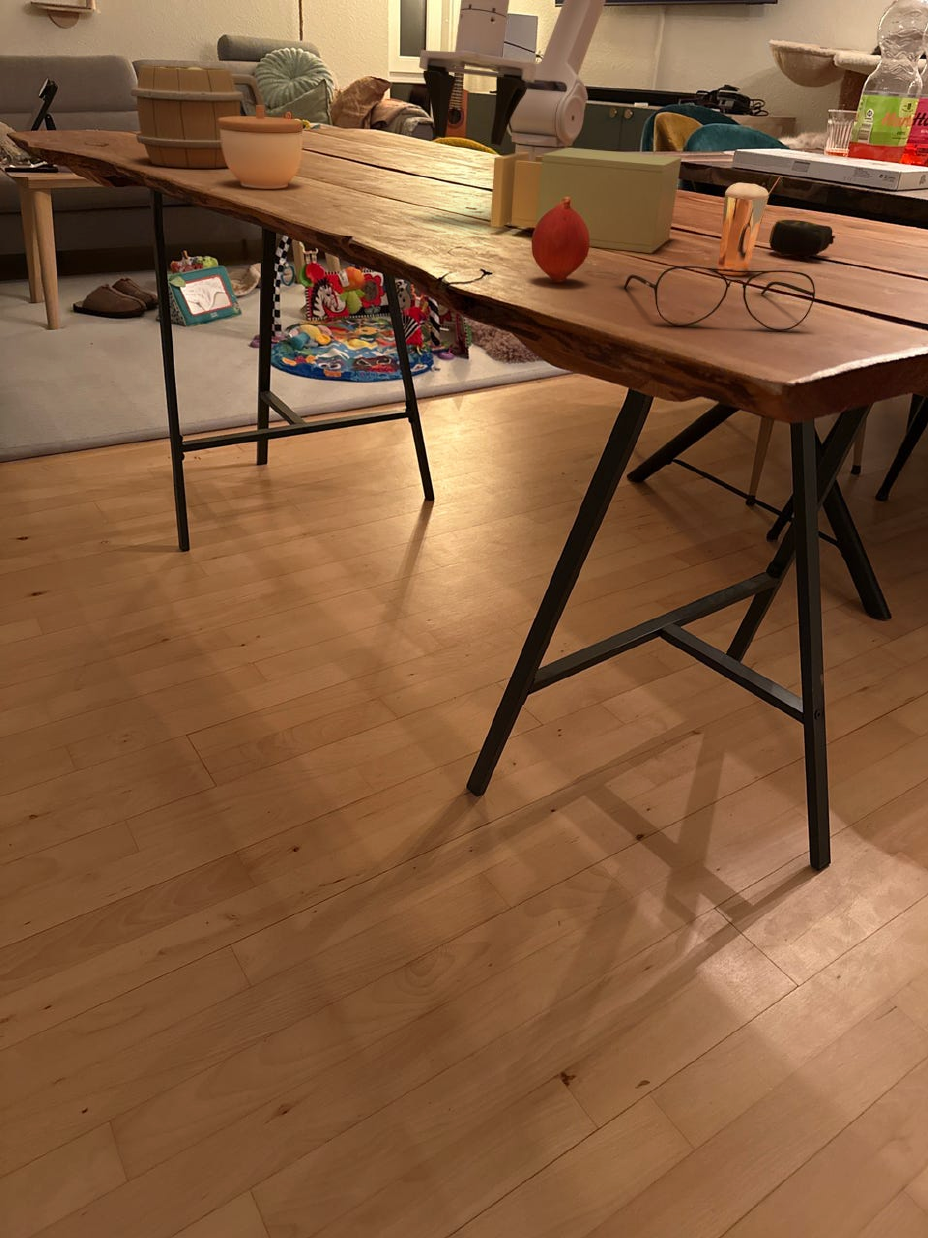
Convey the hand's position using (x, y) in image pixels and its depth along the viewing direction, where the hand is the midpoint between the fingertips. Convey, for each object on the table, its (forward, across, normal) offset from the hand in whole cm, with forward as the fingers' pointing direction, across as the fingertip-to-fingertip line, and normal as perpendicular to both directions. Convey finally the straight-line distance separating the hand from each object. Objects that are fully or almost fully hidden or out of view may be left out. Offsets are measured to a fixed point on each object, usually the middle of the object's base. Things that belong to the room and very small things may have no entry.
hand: (467, 140), depth 118 cm
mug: (+8, -62, +35) cm, 72 cm away
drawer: (+8, +12, +2) cm, 15 cm away
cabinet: (+9, +19, +2) cm, 21 cm away
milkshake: (+10, +37, -10) cm, 40 cm away
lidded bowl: (+9, -39, +16) cm, 43 cm away
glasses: (+13, +37, -29) cm, 49 cm away
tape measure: (+8, +43, +6) cm, 44 cm away
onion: (+13, +21, -26) cm, 36 cm away
